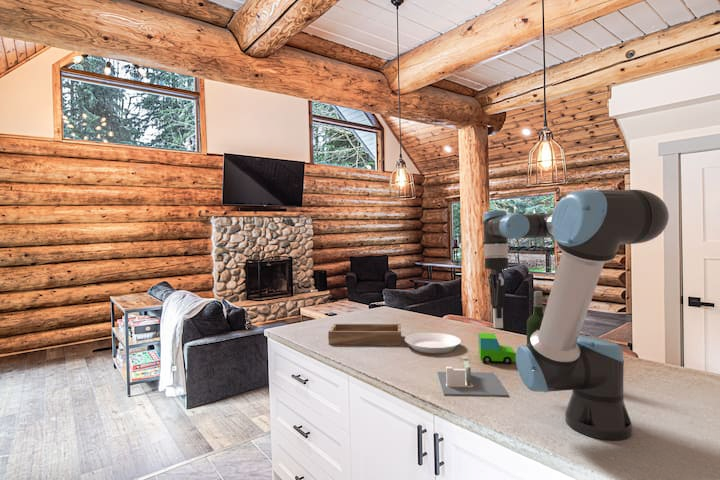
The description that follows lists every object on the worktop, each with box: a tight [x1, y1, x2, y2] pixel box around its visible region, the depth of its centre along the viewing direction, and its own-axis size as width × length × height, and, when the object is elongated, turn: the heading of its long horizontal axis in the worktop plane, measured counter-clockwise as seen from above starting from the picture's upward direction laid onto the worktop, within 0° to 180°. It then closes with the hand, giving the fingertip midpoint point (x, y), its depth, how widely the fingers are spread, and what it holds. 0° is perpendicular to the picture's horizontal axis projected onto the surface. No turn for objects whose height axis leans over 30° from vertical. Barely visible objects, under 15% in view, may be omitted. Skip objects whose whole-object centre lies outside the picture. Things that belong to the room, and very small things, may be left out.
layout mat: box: [437, 371, 510, 397], centre depth 136 cm, size 20×20×1 cm
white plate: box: [404, 332, 462, 354], centre depth 180 cm, size 25×25×4 cm
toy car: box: [478, 332, 516, 365], centre depth 160 cm, size 10×13×10 cm
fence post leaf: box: [445, 366, 472, 386], centre depth 134 cm, size 2×8×7 cm, turn 85°
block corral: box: [327, 323, 402, 346], centre depth 194 cm, size 16×34×6 cm, turn 85°
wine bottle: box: [526, 290, 544, 345], centre depth 143 cm, size 8×8×30 cm
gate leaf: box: [462, 356, 471, 383], centre depth 139 cm, size 10×2×6 cm, turn 171°
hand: (498, 327), depth 133 cm, fingers closed
